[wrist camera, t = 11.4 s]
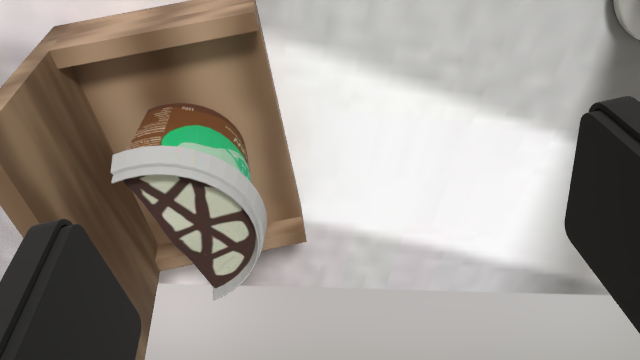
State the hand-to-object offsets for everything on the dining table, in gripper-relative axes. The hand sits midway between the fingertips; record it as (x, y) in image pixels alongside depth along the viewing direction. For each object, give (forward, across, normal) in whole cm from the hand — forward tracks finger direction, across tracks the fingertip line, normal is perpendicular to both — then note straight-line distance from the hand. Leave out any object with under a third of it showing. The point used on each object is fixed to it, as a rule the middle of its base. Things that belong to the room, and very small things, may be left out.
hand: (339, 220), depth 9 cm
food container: (+26, +8, +13) cm, 30 cm away
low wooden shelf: (+29, +10, +13) cm, 33 cm away
